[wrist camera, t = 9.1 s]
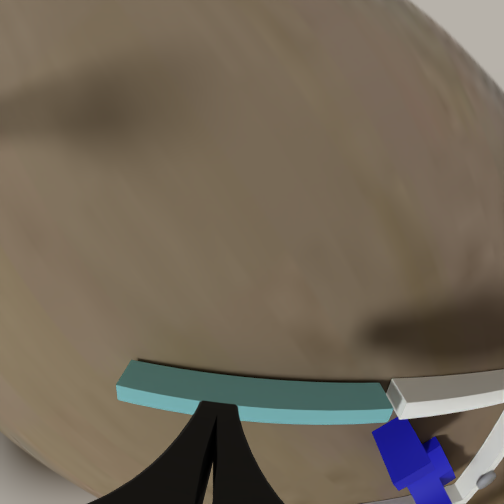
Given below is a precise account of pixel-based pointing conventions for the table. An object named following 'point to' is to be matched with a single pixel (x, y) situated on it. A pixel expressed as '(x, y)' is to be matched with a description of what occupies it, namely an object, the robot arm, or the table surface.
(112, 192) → the table surface
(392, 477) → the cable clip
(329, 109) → the table surface
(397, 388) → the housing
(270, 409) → the gate
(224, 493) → the robot arm
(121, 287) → the table surface
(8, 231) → the table surface
